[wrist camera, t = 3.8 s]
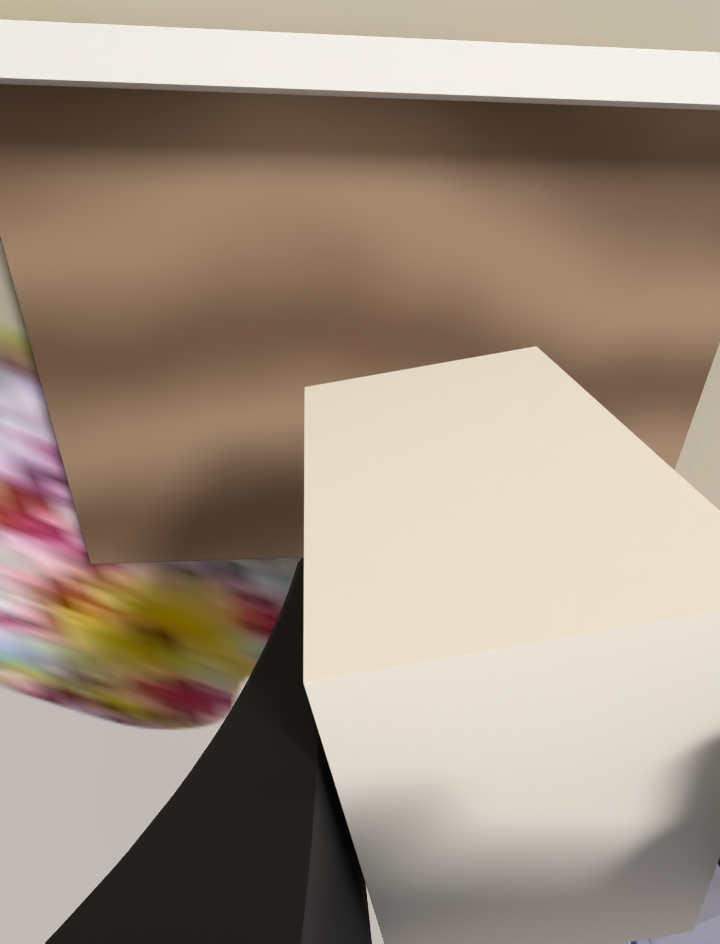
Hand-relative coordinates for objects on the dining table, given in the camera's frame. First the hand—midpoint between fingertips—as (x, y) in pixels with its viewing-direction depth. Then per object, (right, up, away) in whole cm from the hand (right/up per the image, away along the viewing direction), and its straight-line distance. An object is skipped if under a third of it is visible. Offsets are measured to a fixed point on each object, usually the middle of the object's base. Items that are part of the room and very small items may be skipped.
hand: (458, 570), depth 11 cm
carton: (0, +1, +2) cm, 2 cm away
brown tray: (-1, +6, +8) cm, 10 cm away
